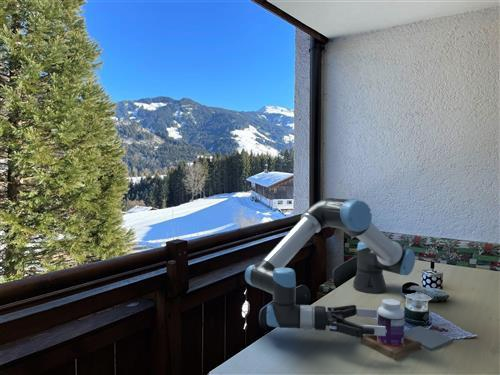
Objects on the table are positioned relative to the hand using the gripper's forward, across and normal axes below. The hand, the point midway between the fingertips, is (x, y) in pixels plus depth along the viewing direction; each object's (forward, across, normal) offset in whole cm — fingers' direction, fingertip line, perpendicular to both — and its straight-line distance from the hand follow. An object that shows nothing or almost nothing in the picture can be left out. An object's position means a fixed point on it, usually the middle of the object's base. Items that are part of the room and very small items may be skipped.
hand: (380, 321), depth 114 cm
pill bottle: (+3, 0, -8) cm, 9 cm away
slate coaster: (+16, -7, -8) cm, 19 cm away
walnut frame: (+3, 0, -8) cm, 8 cm away
